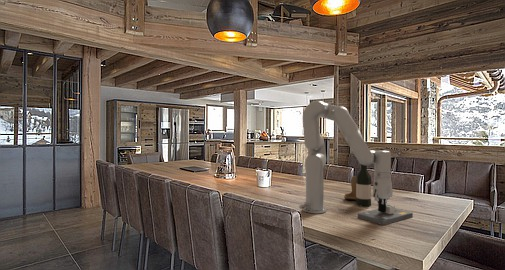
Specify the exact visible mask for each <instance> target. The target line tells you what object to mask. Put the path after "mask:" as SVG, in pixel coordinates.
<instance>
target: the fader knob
mask: <svg viewBox="0 0 505 270" xmlns="http://www.w3.org/2000/svg"><path fill="white" fill-rule="evenodd" d="M395 207H396V206H395V205H392V204H387V203H386V212H384V213H388V214H392V213H395V209H396V208H395Z"/></svg>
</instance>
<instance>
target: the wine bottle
mask: <svg viewBox="0 0 505 270" xmlns="http://www.w3.org/2000/svg"><path fill="white" fill-rule="evenodd" d="M355 176H356V200H355V204H356V206H360V207H368V208H369V207H371V206H372V176H371V175H370V172H369V171H368V165H362V164H361V163H360V170H359V172H358V173H357V175H355Z"/></svg>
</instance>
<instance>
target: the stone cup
mask: <svg viewBox="0 0 505 270" xmlns="http://www.w3.org/2000/svg"><path fill="white" fill-rule="evenodd" d="M356 176H357V175H353V176H351V179H350V185H351V187H350V188H351V192H349V193H345V194H344V199H345V200H351V201H352V200H353V201H356Z"/></svg>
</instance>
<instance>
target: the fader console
mask: <svg viewBox="0 0 505 270" xmlns="http://www.w3.org/2000/svg"><path fill="white" fill-rule="evenodd" d="M357 218H358V219H362V220H364V221H368V222H371V223H375V224H378V225H381V226H382V225H383V226H384V225H388V224H392V223H395V222H398V221H404V220H405V219H410V218H413V212H410V211H406V210H402V209H397V208H395V213H392V214H388V213H384V212H380V211H378V208H377V209H372V210H367V211H363V212H359V213H357Z"/></svg>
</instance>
